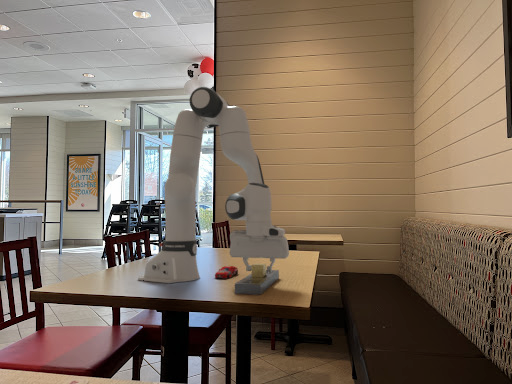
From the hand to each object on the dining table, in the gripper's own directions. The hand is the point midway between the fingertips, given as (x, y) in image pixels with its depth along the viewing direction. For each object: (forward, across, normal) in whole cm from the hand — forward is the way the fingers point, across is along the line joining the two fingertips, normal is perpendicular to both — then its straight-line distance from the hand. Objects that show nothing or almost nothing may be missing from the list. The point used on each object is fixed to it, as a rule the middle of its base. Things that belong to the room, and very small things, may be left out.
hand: (259, 271), depth 127 cm
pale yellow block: (+5, 0, 0) cm, 5 cm away
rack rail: (+5, 0, 0) cm, 5 cm away
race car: (+5, -16, +14) cm, 22 cm away
